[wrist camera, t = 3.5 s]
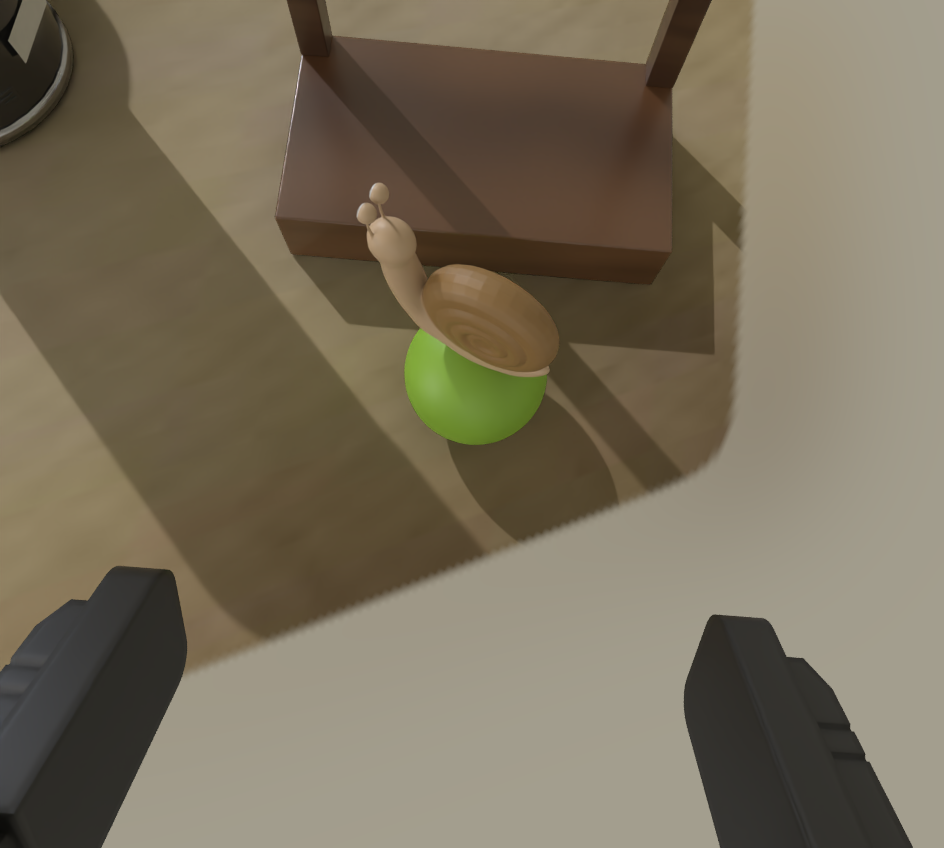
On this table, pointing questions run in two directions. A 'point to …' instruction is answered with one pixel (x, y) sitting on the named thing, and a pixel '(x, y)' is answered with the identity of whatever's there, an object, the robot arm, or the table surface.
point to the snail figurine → (464, 337)
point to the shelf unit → (485, 151)
